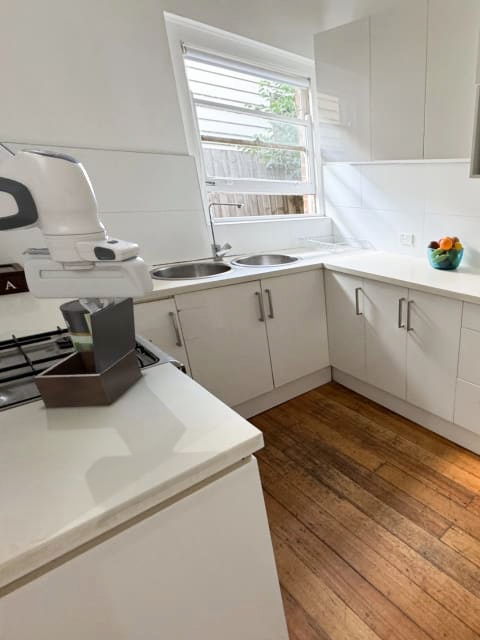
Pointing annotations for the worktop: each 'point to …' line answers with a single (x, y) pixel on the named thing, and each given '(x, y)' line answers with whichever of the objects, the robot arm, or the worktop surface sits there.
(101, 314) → the dark grey box door
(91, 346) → the coffee can
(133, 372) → the open brown box
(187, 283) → the worktop surface
